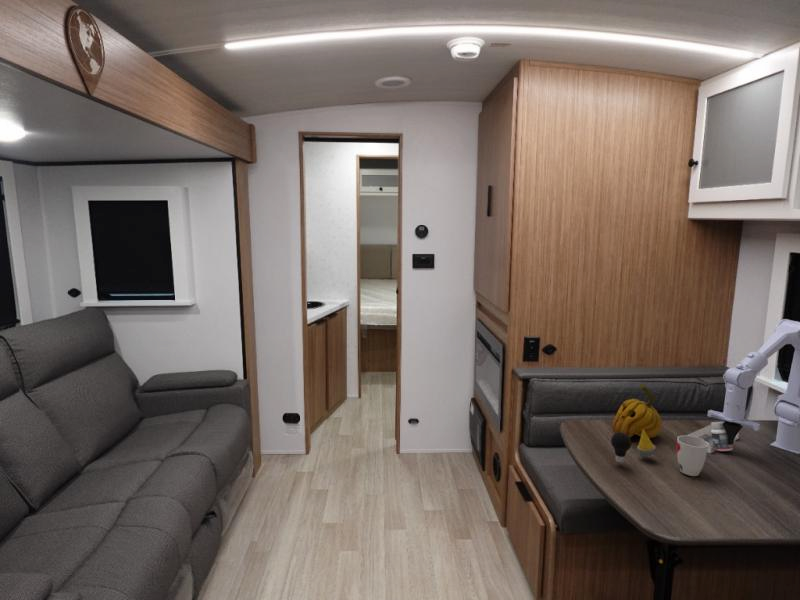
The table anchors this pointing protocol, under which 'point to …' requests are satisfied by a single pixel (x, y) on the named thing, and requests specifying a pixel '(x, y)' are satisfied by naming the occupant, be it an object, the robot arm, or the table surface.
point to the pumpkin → (638, 417)
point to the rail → (707, 437)
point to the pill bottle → (720, 437)
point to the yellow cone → (645, 445)
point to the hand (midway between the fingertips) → (729, 443)
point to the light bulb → (620, 445)
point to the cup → (691, 454)
